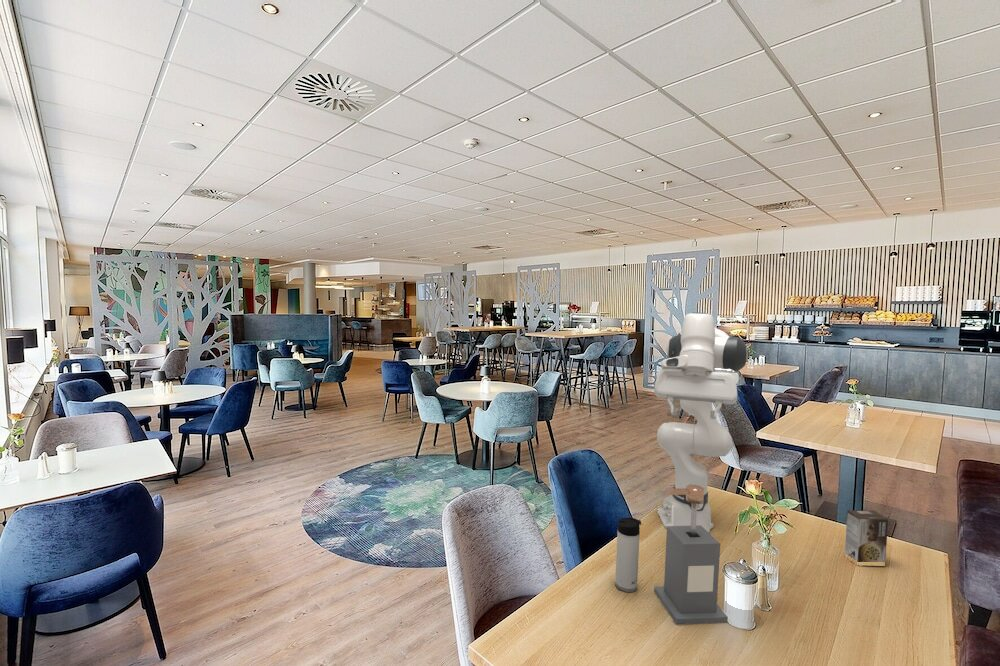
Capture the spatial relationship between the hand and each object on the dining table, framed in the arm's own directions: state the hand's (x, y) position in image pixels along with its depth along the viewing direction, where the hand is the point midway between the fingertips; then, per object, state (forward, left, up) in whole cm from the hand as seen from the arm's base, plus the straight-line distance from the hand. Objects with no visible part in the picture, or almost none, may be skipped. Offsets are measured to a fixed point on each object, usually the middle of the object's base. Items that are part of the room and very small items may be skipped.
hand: (693, 416), depth 122 cm
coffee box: (-23, +74, -55) cm, 95 cm away
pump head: (-4, +1, -40) cm, 40 cm away
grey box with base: (-4, +4, -54) cm, 55 cm away
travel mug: (-14, -10, -54) cm, 57 cm away
